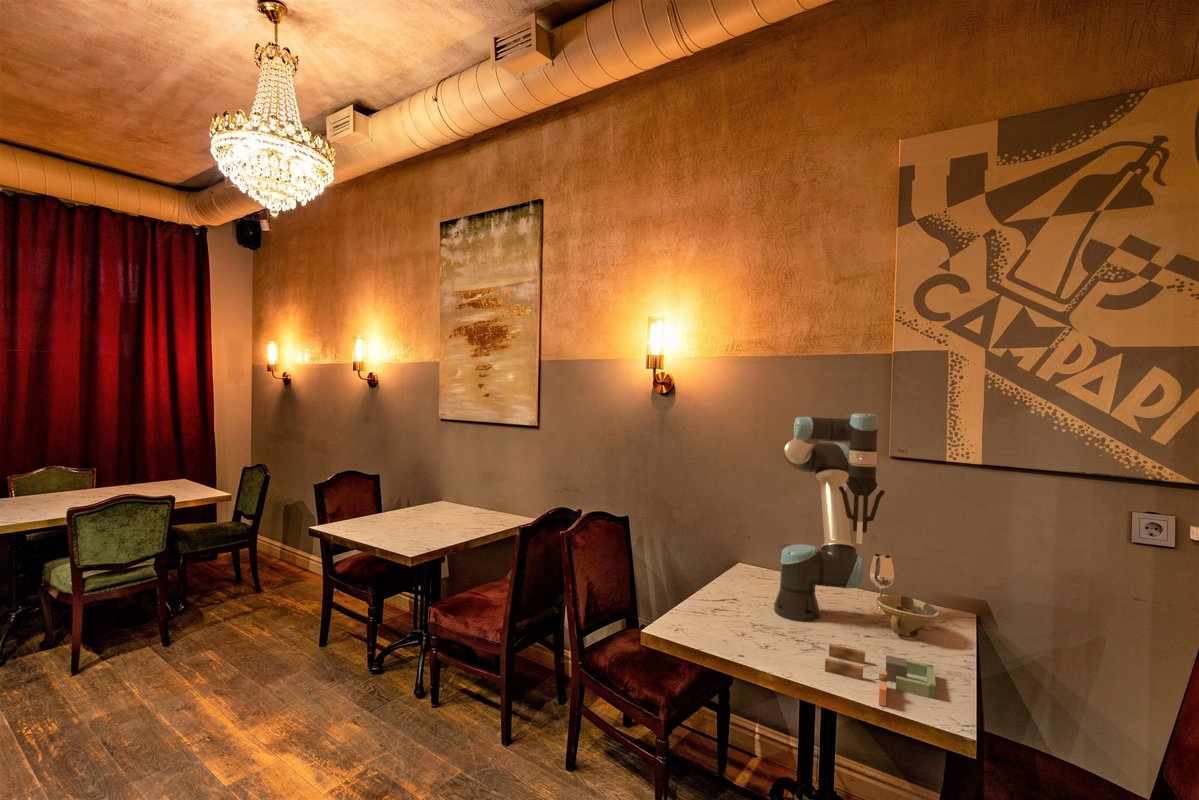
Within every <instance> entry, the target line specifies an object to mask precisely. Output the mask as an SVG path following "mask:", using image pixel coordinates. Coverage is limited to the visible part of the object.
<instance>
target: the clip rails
mask: <svg viewBox="0 0 1199 800" xmlns="http://www.w3.org/2000/svg"><path fill="white" fill-rule="evenodd" d="M828 645H829V646H828V657H831V658H836V659H839V660H836V659H830V658H825V659H824V661H825V662H824V672H826V673H831V674H836V675H839V676H843V677H846V678H847V677H848V678H852V679H856V680H860V681H863V679H864V677H863V676H864V666H861V665H857V664H856V665H855V664H852V663H849V662H854V663H858V664H862V665H865V663H866V662H865V660H866V651H864V650H858V649H855V648H849V647H845V646H839V645H835V644H831V643H829V644H828ZM840 660H845V661H848V663H847V662H844V661H840Z"/></svg>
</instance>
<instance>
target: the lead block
mask: <svg viewBox="0 0 1199 800" xmlns="http://www.w3.org/2000/svg"><path fill="white" fill-rule="evenodd" d="M907 660H908V659H907V658H903V657H897V656H894V655H893V656H892V655H890V654H889V655H888V654H886V655H885V671H887V676H888V681H887V682H891V683H895V684H896V676H900V677H904V678H908V675H907V674H908V673H907Z"/></svg>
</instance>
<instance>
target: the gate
mask: <svg viewBox="0 0 1199 800" xmlns="http://www.w3.org/2000/svg"><path fill="white" fill-rule="evenodd" d="M878 680H879V693H878V695H879V696H878V705H879V706H883V707H886V705H887V704H886V703H887V682H889V681H888V676H887V671H886V670H882V669H880V673H879V674H878Z"/></svg>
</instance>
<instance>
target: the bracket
mask: <svg viewBox="0 0 1199 800" xmlns="http://www.w3.org/2000/svg"><path fill="white" fill-rule="evenodd" d="M934 669H935V668H934V665H932V664H927V663H924V662H919V661H915V660H914V661H913V660H910V659H907V674H912V675H915V676H919V677H924V678H926V681H925V682H924V681H921V680H917V679H913V678H912V679H911V678H908V677H907V678H904V677H900V676H896V683H895V691H896V690H897V691H901V692H905V693H909V694H912V695H917V696H922V697H925V698H929V699H933V700H937V685H936V683H937V682H936V676H935V675H936V674H935V670H934Z"/></svg>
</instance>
